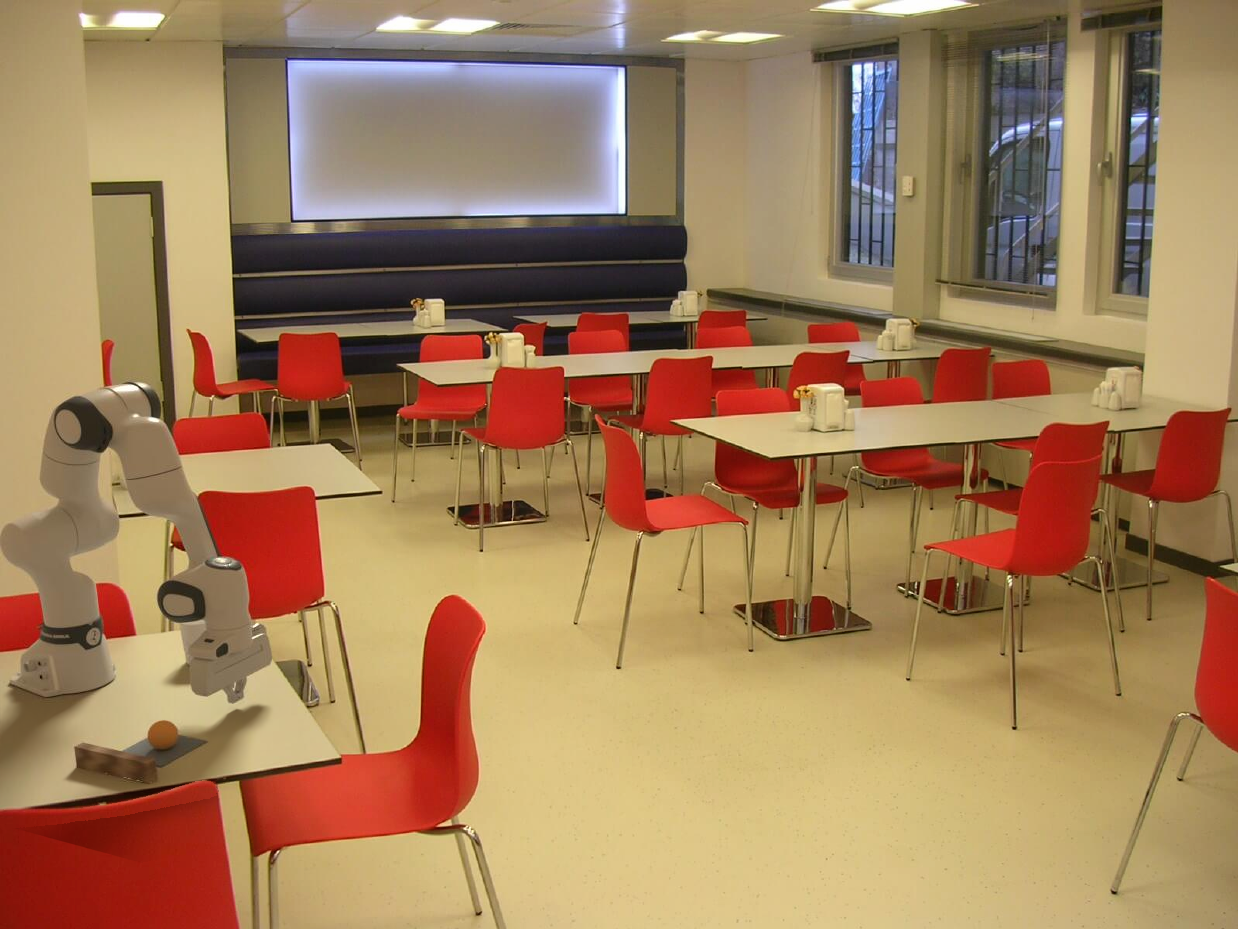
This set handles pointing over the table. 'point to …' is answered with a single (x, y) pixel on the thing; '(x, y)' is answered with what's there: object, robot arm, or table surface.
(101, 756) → the stopper wall
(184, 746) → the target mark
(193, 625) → the white cup
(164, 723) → the ball
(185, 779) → the table surface
